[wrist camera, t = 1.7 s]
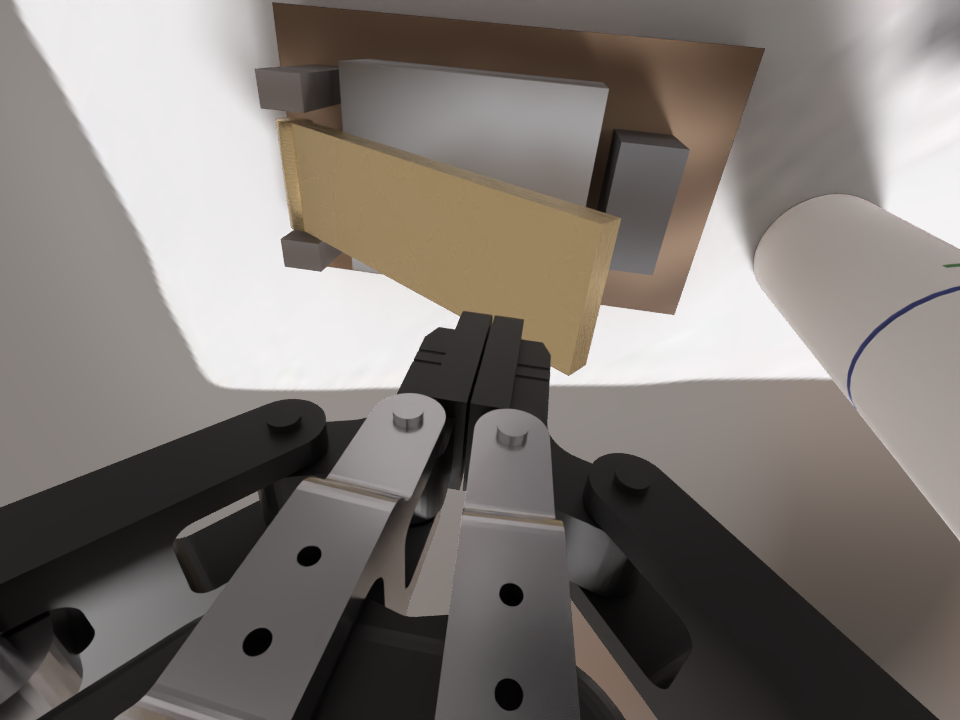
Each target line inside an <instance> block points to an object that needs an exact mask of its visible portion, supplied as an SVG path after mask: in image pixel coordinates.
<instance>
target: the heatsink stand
mask: <svg viewBox="0 0 960 720" xmlns="http://www.w3.org/2000/svg"><path fill="white" fill-rule="evenodd" d="M272 4H273V12H274V19H275V27H276V35H277V43H278V51H279V59H280V67H274V68H261V69H255V73H256V79H257V86H258V93H259V99H260V106H261V108H263V109H272V110H281V111H286V114H287V117H296V118H306V119H310V120H312V121H313V123H316V124H320V125H323V126H326V127H329V128H333V129H336V130H339V131H342V132H345V133H349V134H352V135H355V136H358V137H362V138H365V139H368V140H371V141H374V142H378V143H381V144H384V145H387V146H391V147H394V148H397V149H400V150H403V151H407V152H410V153H413V154H416V155H420V156H423V157H426V158H429V159H432V160H436V161H439V162H442V163H445V164H449V165H452V166H455V167H458V168H461V169H465V170H468V171H471V172H474V173H478V174H481V175H484V176H487V177H490V178H494V179H497V180H500V181H503V182H506V183H510V184H513V185H516V186H519V187H523V188H526V189H529V190H532V191H535V192H539V193H542V194H545V195H548V196H552V197H555V198H558V199H561V200H564V201H568V202H571V203H574V204H577V205H581V206H584V207H587V208H590V209H593V210H597V211H600V212H603V213H606V214H610V215H613V216H616V217H619V218H621V221H620V226H619V230H618V234H617V238H616V242H615V246H614V250H613V254H612V259H611V263H610V267H609V271H608V275H607V279H606V283H605V287H604V292H603V296H602V300H601V304H600V305H607V306H614V307H621V308H628V309H635V310H642V311H650V312H657V313H664V314H671V315H674V314H675V311H676V308H677V305H678V302H679V299H680V297H681V294H682V291H683V288H684V285H685V282H686V279H687V276H688V273H689V270H690V267H691V264H692V261H693V258H694V255H695V252H696V250H697V247H698V244H699V241H700V238H701V235H702V232H703V229H704V226H705V223H706V220H707V217H708V214H709V211H710V208H711V206H712V203H713V200H714V197H715V194H716V191H717V188H718V185H719V182H720V179H721V176H722V173H723V170H724V167H725V164H726V162H727V159H728V156H729V153H730V150H731V147H732V144H733V141H734V138H735V135H736V132H737V129H738V126H739V123H740V120H741V117H742V115H743V112H744V109H745V106H746V103H747V100H748V97H749V94H750V91H751V88H752V85H753V82H754V79H755V76H756V73H757V71H758V68H759V65H760V62H761V59H762V56H763V53H764V50H765V48H755V47H745V46H734V45H723V44H712V43H702V42H691V41H680V40H670V39H659V38H648V37H637V36H627V35H616V34H605V33H595V32H584V31H573V30H562V29H552V28H541V27H530V26H520V25H509V24H498V23H487V22H477V21H466V20H455V19H445V18H434V17H423V16H412V15H402V14H391V13H380V12H370V11H359V10H348V9H337V8H327V7H316V6H305V5H295V4H284V3H273V2H272ZM281 244H282V250H283V257H284V264H285V267H292V268H299V269H306V270H313V271H320V272H321V271H322V270H323V269H325V268H326V267H334V268H341V269H348V270H356V271H363V272H370V273H377V274H382V273H380V272H378V271H376V270H374V269H373V268H371V267H369V266H367V265H365V264H364V263H362V262H360V261H358V260H356V259H354V258H353V257H351V256H349V255H347V254H345V253H343V252H342V251H340V250H338V249H336V248H334V247H333V246H331V245H329V244H327V243H325V242H323V241H322V240H320V239H318V238H316V237H314V236H312V235H311V234H309V233H307V232H305V231H298V230H293V231H292V232H291V233H289V234H288V235H286V236H285V237H283V238H282V239H281Z"/></svg>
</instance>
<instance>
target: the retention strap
mask: <svg viewBox="0 0 960 720" xmlns="http://www.w3.org/2000/svg"><path fill="white" fill-rule="evenodd" d="M276 123H277V131H278V138H279V145H280V152H281V160H282V167H283V174H284V181H285V189H286V196H287V203H288V210H289V218H290V225H291V228H292V229H294V230H298V231H305V232H307V233H309V234H311V235H312V236H314V237H316V238H318V239H320V240H322V241H323V242H325V243H327V244H329V245H331V246H333V247H334V248H336V249H338V250H340V251H342V252H343V253H345V254H347V255H349V256H351V257H353V258H354V259H356V260H358V261H360V262H362V263H364V264H365V265H367V266H369V267H371V268H373V269H374V270H376V271H378V272H380V273H382V274H384V275H385V276H387V277H389V278H391V279H393V280H395V281H396V282H398V283H400V284H402V285H404V286H406V287H407V288H409V289H411V290H413V291H415V292H416V293H418V294H420V295H422V296H424V297H426V298H427V299H429V300H431V301H433V302H435V303H437V304H438V305H440V306H442V307H444V308H446V309H447V310H449V311H451V312H453V313H455V314H457V315H458V316H461V314H462V312H463V311H469V312H476V313H483V314H490V315H493V320H494V316H495V315H497V316H504V317H511V318H518V319H524V324H523V331H522V338H521V339H523V340H530V341H537V342H543V343H544V345H545V347H546V348H547V350H548V351H549V353H550V354H551V364H550V366H551V367H553V368H555V369H557V370H559V371H561V372H562V373H564V374H566V375H568V376H569V375H571V374H573V373H574V372H576V371H577V370H579V369H580V368H582V367H583V366H585V365H586V362H587V358H588V353H589V349H590V345H591V341H592V337H593V333H594V329H595V325H596V320H597V316H598V312H599V308H600V304H601V300H602V296H603V292H604V287H605V283H606V279H607V275H608V271H609V267H610V263H611V259H612V254H613V250H614V246H615V242H616V238H617V234H618V230H619V226H620V221H621V218H619V217H616V216H613V215H610V214H606V213H603V212H600V211H597V210H593V209H590V208H587V207H584V206H581V205H577V204H574V203H571V202H568V201H564V200H561V199H558V198H555V197H552V196H548V195H545V194H542V193H539V192H535V191H532V190H529V189H526V188H523V187H519V186H516V185H513V184H510V183H506V182H503V181H500V180H497V179H494V178H490V177H487V176H484V175H481V174H478V173H474V172H471V171H468V170H465V169H461V168H458V167H455V166H452V165H449V164H445V163H442V162H439V161H436V160H432V159H429V158H426V157H423V156H420V155H416V154H413V153H410V152H407V151H403V150H400V149H397V148H394V147H391V146H387V145H384V144H381V143H378V142H374V141H371V140H368V139H365V138H362V137H358V136H355V135H352V134H349V133H345V132H342V131H339V130H336V129H333V128H329V127H326V126H323V125H320V124H316V123H313V121H312V120H310V119H306V118H296V117H284V118H277V119H276ZM492 323H493V321H492Z"/></svg>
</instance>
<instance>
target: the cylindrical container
mask: <svg viewBox="0 0 960 720" xmlns="http://www.w3.org/2000/svg"><path fill="white" fill-rule="evenodd" d="M754 274H755V277H756V281H757V282H758V284H759V286H760V288H761V289H762V290H763V292H764V293H765V294H766V296H767V297H768V298H769V299H770V301H771V302H772V303H773V304H774V306H775V307H776V308H777V309H778V311H779V312H780V313H781V315H782V316H783V317H784V318H785V320H786V321H787V322H788V323H789V325H790V326H791V327H792V328H793V330H794V331H795V332H796V334H797V335H798V336H799V337H800V339H801V340H802V341H803V342H804V344H805V345H806V346H807V348H808V349H809V350H810V351H811V353H812V354H813V355H814V356H815V358H816V359H817V360H818V362H819V363H820V364H821V365H822V367H823V368H824V369H825V370H826V372H827V373H828V374H829V376H830V377H831V378H832V379H833V381H834V382H835V383H836V384H837V386H838V387H839V388H840V389H841V391H842V392H843V393H844V395H845V396H846V397H847V398H848V400H849V401H850V402H851V403H852V404H853V406H854V407H855V408H856V409H857V411H858V412H859V414H860V415H861V416H862V417H863V419H864V420H865V421H866V422H867V423H868V425H869V426H870V428H871V429H872V430H873V431H874V433H875V434H876V435H877V437H878V438H879V439H880V440H881V441H882V443H883V444H884V445H885V447H886V448H887V449H888V450H889V452H890V453H891V454H892V456H893V457H894V458H895V459H896V461H897V462H898V463H899V464H900V466H901V467H902V468H903V470H904V471H905V472H906V473H907V475H908V476H909V477H910V478H911V480H912V481H913V482H914V483H915V485H916V486H917V487H918V488H919V490H920V491H921V492H922V494H923V495H924V496H925V497H926V498H927V500H928V501H929V503H930V504H931V505H932V506H933V508H934V509H935V510H936V511H937V513H938V514H939V515H940V516H941V518H942V519H943V520H944V522H945V523H946V524H947V525H948V527H949V528H950V529H951V530H952V532H953V533H954V534H955V536H956V537H957V538H958V539H959V540H960V249H958V248H956V247H954V246H952V245H951V244H949V243H947V242H945V241H943V240H941V239H939V238H937V237H935V236H933V235H931V234H930V233H928V232H926V231H924V230H922V229H920V228H918V227H916V226H914V225H912V224H911V223H909V222H907V221H905V220H903V219H901V218H899V217H897V216H895V215H893V214H891V213H890V212H888V211H886V210H884V209H882V208H880V207H878V206H876V205H874V204H872V203H871V202H869V201H867V200H865V199H862V198H859V197H856V196H853V195H846V194H830V195H823V196H819V197H815V198H812V199H809V200H807V201H804V202H802V203H800V204H798V205H796V206H794V207H793V208H791V209H789V210H788V211H786V212H785V213H784V214H783V215H781V216H780V217H779V218H778V219H776V220H775V222H774V223H773V224H772V225H771V226H770V227H769V228H768V229H767V231H766V232H765V234H764V235H763V237H762V238H761V240H760V242H759V244H758V247H757V249H756V252H755V257H754Z"/></svg>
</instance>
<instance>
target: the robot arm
mask: <svg viewBox="0 0 960 720" xmlns="http://www.w3.org/2000/svg"><path fill="white" fill-rule="evenodd" d="M492 321H493V323H492ZM523 324H524V319H518V318H511V317H504V316H497V315H495V316H494V320H493V315H490V314H483V313H476V312H469V311H463V312H462V314H461V316H460V319H459V321H458V324H457V326H456V329H455V330H454V329H447V328H441V327H439V328H437V329H436V330H434V331H433V332H431V333H430V334H428V335H427V336H425V338H424V340H423V342H422V344H421V346H420V348H419V351H418V352H417V354H416V356H415V358H414V362H412V364H411V366H410V368H409V370H408V372H407V374H406V376H405V378H404V380H403V382H402V384H401V387H400V389H399V391H398V393H397V395H393V396H390V397H388V398H386V399H384V400H382V401H380V402H379V403H378V404H377V405H376V406H375V407H374V408H373V410H372V411H371V413H370V414H369V416H368V417H367V418H363V419H359V420H350V421H349V420H348V421H334V422H326V416H325V413H324V411H323V410H322V409H321V408H320V407H319V406H318V405H316V404H314V403H312V402H310V401H306V400H300V399H287V400H280V401H275V402H272V403H269V404H267V405H264V406H261V407H259V408H256V409H253V410H251V411H248V412H246V413H243V414H241V415H238V416H236V417H233V418H230V419H228V420H225V421H223V422H220V423H217V424H215V425H212V426H210V427H207V428H204V429H202V430H199V431H197V432H194V433H192V434H189V435H186V436H184V437H181V438H179V439H176V440H173V441H171V442H169V443H166V444H163V445H161V446H158V447H155V448H153V449H150V450H148V451H145V452H142V453H140V454H137V455H135V456H132V457H130V458H128V459H124V460H122V461H119V462H117V463H114V464H111V465H109V466H106V467H104V468H101V469H99V470H96V471H93V472H91V473H88V474H86V475H83V476H80V477H78V478H75V479H73V480H70V481H68V482H65V483H62V484H60V485H57V486H55V487H52V488H50V489H47V490H44V491H42V492H39V493H37V494H34V495H32V496H29V497H26V498H24V499H21V500H19V501H16V502H13V503H11V504H8V505H6V506H3V507H1V508H0V720H626V719H625V718H624V717H623V715H622V713H621V712H620V711H619V709H618V708H617V706H616V705H615V704H614V703H613V701H612V700H611V699H610V698H609V697H608V695H607V694H606V693H605V692H604V691H603V690H602V689H601V688H600V686H598V684H597V683H596V682H595V681H594V680H593V679H592V678H591V677H589V676H588V675H587V674H586V673H585V672H583V671H582V670H581V669H580V668H579V667H577V666H576V661H575V649H574V637H573V625H572V612H571V600H572V601H573V602H574V604H575V605H576V607H577V608H578V609H579V611H580V612H581V614H582V615H583V616H584V618H585V619H586V620H587V622H588V623H589V625H590V626H591V627H592V629H593V630H594V632H595V633H596V634H597V636H598V637H599V638H600V640H601V641H602V643H603V644H604V645H605V647H606V648H607V649H608V651H609V652H610V654H611V655H612V657H613V658H614V659H615V661H616V662H617V663H618V665H619V666H620V668H621V669H622V670H623V672H624V673H625V674H626V676H627V677H628V679H629V680H630V681H631V683H632V684H633V686H634V687H635V688H636V690H637V691H638V693H639V694H640V695H641V697H642V698H643V699H644V701H645V702H646V704H647V705H648V706H649V708H650V709H651V711H652V712H653V713H654V715H655V716H656V717H657V719H658V720H939V719H938V718H937V717H936V716H935V715H933V714H932V713H931V712H930V711H929V710H928V709H927V708H926V707H924V706H923V705H922V704H921V703H920V702H919V701H918V700H917V699H916V698H914V697H913V696H912V695H911V694H910V693H909V692H908V691H907V690H905V689H904V688H903V687H902V686H901V685H900V684H899V683H898V682H897V681H895V680H894V679H893V678H892V677H891V676H890V675H889V674H888V673H887V672H885V671H884V670H883V669H882V668H881V667H880V666H879V665H877V664H876V663H875V662H874V661H873V660H872V659H871V658H870V657H869V656H867V655H866V654H865V653H864V652H863V651H862V650H861V649H860V648H859V647H858V646H856V645H855V644H854V643H853V642H852V641H851V640H850V639H849V638H847V637H846V636H845V635H844V634H843V633H842V632H841V631H840V630H839V629H837V628H836V627H835V626H834V625H833V624H832V623H831V622H830V621H828V620H827V619H826V618H825V617H824V616H823V615H822V614H821V613H819V612H818V611H817V610H816V609H815V608H814V607H813V606H812V605H811V604H810V603H808V602H807V601H806V600H805V599H804V598H803V597H802V596H801V595H799V594H798V593H797V592H796V591H795V590H794V589H793V588H792V587H790V586H789V585H788V584H787V583H786V582H785V581H784V580H783V579H782V578H780V577H779V576H778V575H777V574H776V573H775V572H774V571H773V570H771V569H770V568H769V567H768V566H767V565H766V564H765V563H764V562H763V561H761V560H760V559H759V558H758V557H757V556H756V555H755V554H754V553H752V552H751V551H750V550H749V549H748V548H747V547H746V546H745V545H744V544H743V543H741V542H740V541H739V540H738V539H737V538H736V537H735V536H734V535H732V534H731V533H730V532H729V531H728V530H727V529H726V528H725V527H724V526H722V525H721V524H720V523H719V522H718V521H717V520H716V519H715V518H713V517H712V516H711V515H710V514H709V513H708V512H707V511H706V510H705V509H703V508H702V507H701V506H700V505H699V504H698V503H697V502H696V501H694V500H693V499H692V498H691V497H690V496H689V495H688V494H687V493H686V492H684V491H683V490H682V489H681V488H680V487H679V486H678V485H677V484H676V483H674V482H673V481H672V480H671V479H670V478H669V477H668V476H667V475H665V474H664V473H663V472H662V471H661V470H660V469H659V468H657V467H656V466H655V465H653V464H651V463H650V462H649V461H647V460H644V459H642V458H640V457H637V456H634V455H630V454H624V453H612V454H607V455H604V456H602V457H599V458H598V459H597V460H595V461H594V462H593V464H592V463H589V462H587V461H584V460H582V459H580V458H577V457H575V456H573V455H571V454H569V453H568V452H566V451H564V450H563V449H562V448H561V447H559V446H558V445H557V444H556V443H555V442H554V440H553V439H552V437H551V436H550V434H549V431H548V428H547V418H548V417H547V416H548V399H549V380H550V364H551V354H550V353H549V351H548V350H547V348H546V347H545V345H544V343H543V342H537V341H530V340H523V339H521V338H522V331H523ZM464 470H465V471H464ZM463 474H464V483H463V491H466V497H465V504H464V509H463V512H462V519H461V526H460V534H459V541H458V549H457V557H456V564H455V571H454V579H453V586H452V594H451V602H450V609H449V615H439V616H425V617H424V616H423V617H408V616H406V615H407V610H408V606H409V603H410V600H411V597H412V593H413V591H414V588H415V586H416V583H417V580H418V578H419V575H420V572H421V569H422V566H423V564H424V561H425V559H426V556H427V553H428V550H429V548H430V545H431V542H432V540H433V537H434V534H435V532H436V529H437V526H438V523H439V520H440V514H441V508H442V506H443V503H444V500H445V497H446V493H447V489H448V488H450V489H456V490H460V486H461V482H462V478H463ZM256 491H258V495H259V499H260V500H259V501H257V502H255V503H253V504H251V505H249V506H247V507H245V508H243V509H241V510H239V511H237V512H235V513H233V514H231V515H229V516H228V517H225V518H223V519H221V520H219V521H217V522H216V523H214V524H212V525H210V526H208V527H206V528H204V529H202V530H200V531H198V532H196V533H194V534H192V535H189V536H187V537H184V538H180V539H175V538H176V537H177V535H178V534H179V533H180V532H181V531H182V530H183V529H184V528H185V527H187V526H188V525H190V524H191V523H193V522H195V521H197V520H199V519H201V518H203V517H205V516H207V515H209V514H211V513H213V512H216V511H217V510H220V509H222V508H223V507H226V506H228V505H230V504H232V503H234V502H236V501H238V500H240V499H242V498H244V497H246V496H248V495H250V494H252V493H254V492H256ZM570 598H571V600H570Z"/></svg>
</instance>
